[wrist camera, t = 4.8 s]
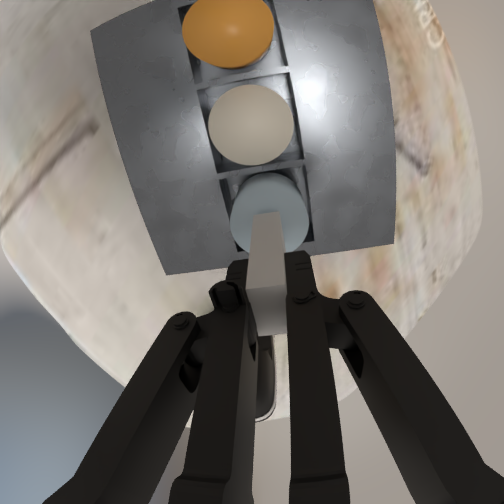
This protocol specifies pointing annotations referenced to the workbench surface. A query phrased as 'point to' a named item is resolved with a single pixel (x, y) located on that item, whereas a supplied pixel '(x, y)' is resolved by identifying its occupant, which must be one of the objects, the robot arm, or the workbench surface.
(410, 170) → the workbench surface
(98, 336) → the workbench surface
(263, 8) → the orange button
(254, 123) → the ivory button
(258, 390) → the battery charger
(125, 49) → the panel
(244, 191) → the pale blue button
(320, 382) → the robot arm
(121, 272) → the workbench surface
